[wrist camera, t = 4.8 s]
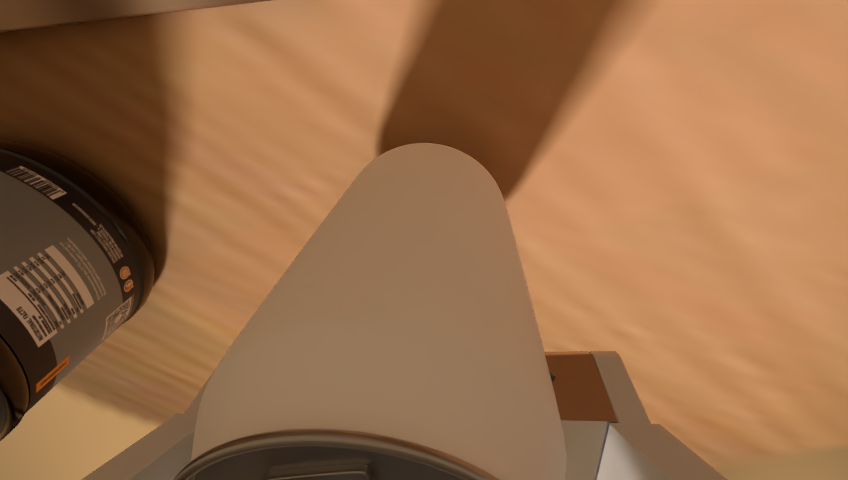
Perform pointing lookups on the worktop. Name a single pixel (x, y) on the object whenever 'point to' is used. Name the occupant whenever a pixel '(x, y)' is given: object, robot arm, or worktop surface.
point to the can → (391, 344)
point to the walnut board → (91, 10)
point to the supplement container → (60, 272)
